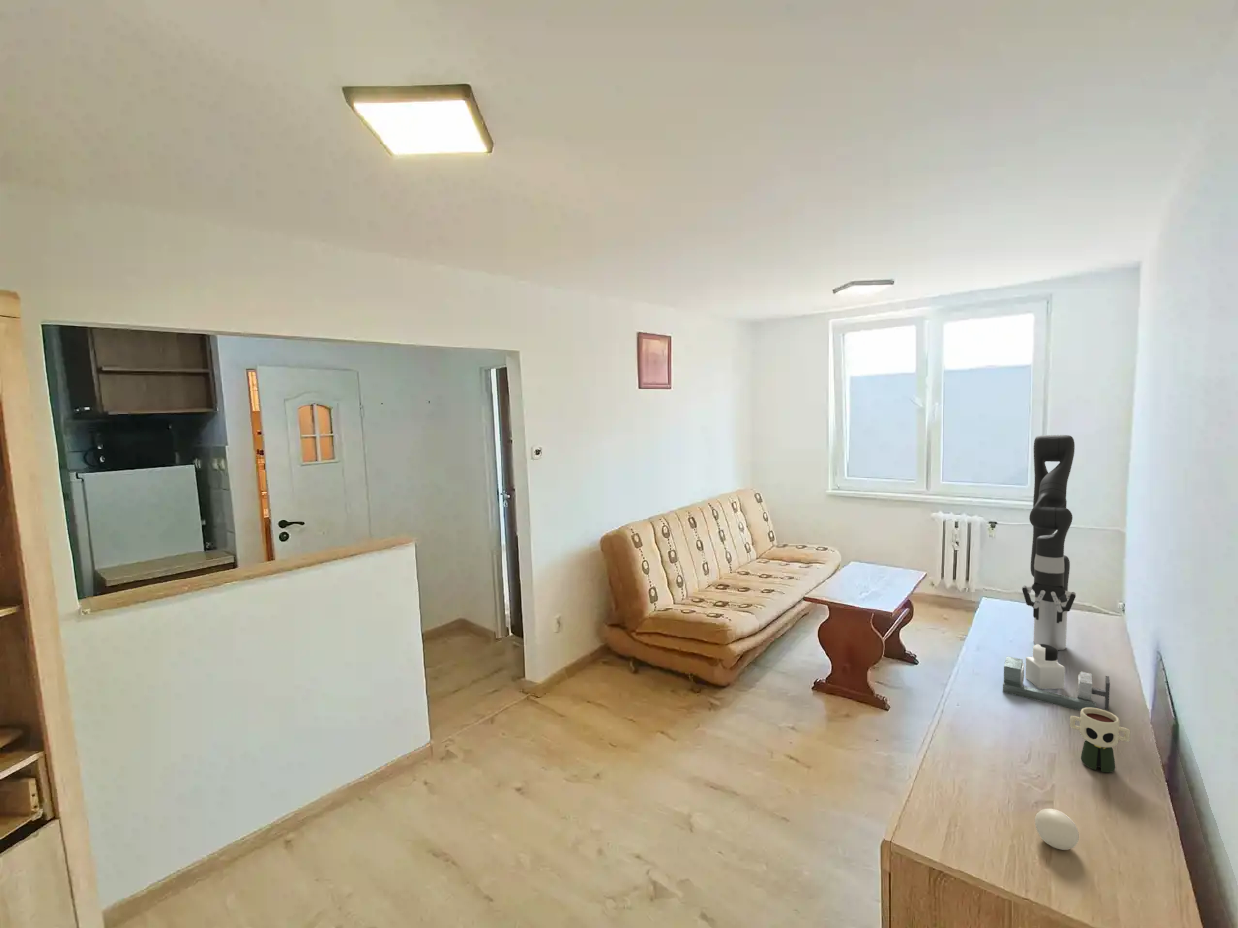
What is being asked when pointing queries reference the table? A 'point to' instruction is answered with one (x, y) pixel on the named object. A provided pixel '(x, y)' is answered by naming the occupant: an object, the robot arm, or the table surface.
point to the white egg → (1056, 829)
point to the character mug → (1099, 737)
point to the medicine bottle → (1045, 668)
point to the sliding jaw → (1087, 690)
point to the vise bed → (1015, 687)
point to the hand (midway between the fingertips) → (1047, 620)
